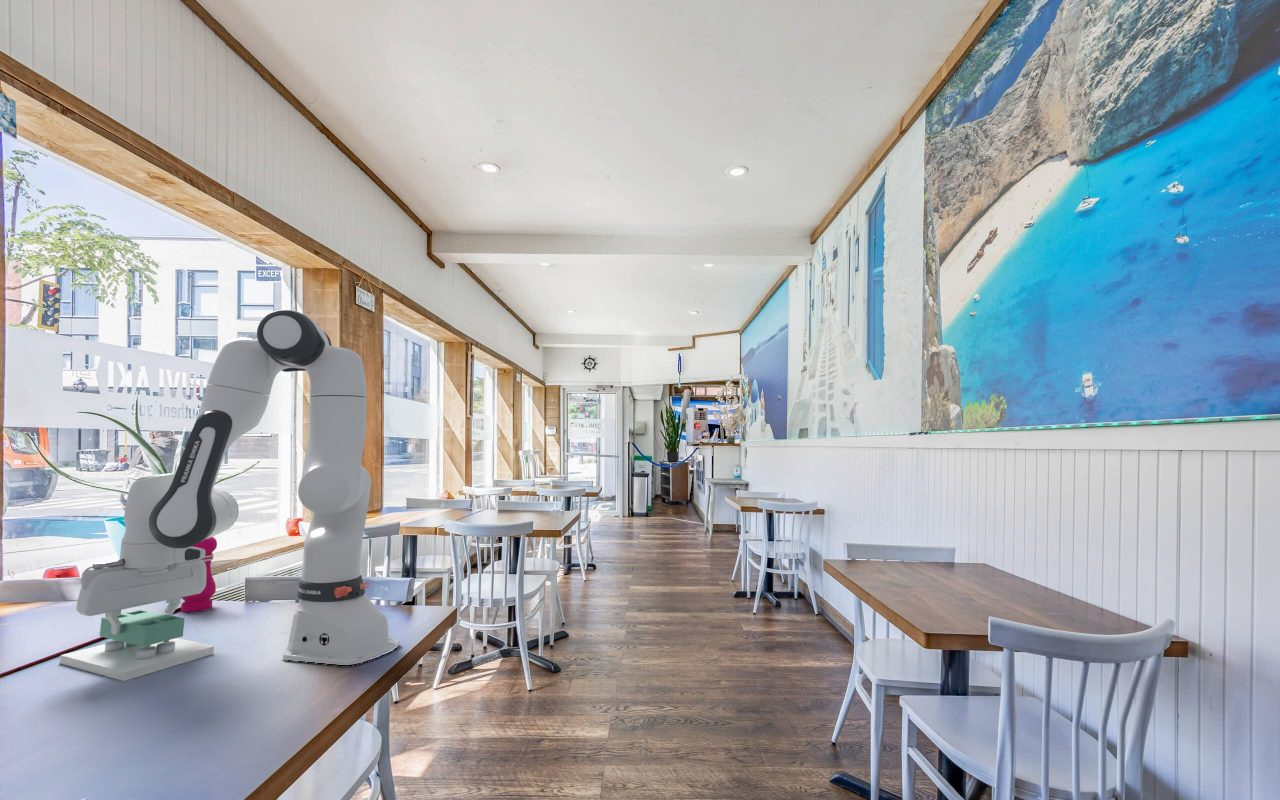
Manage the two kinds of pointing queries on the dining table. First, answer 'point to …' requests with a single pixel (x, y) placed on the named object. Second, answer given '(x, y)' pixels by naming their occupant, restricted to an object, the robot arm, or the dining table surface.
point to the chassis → (135, 657)
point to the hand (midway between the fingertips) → (142, 627)
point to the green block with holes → (145, 627)
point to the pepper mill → (203, 599)
